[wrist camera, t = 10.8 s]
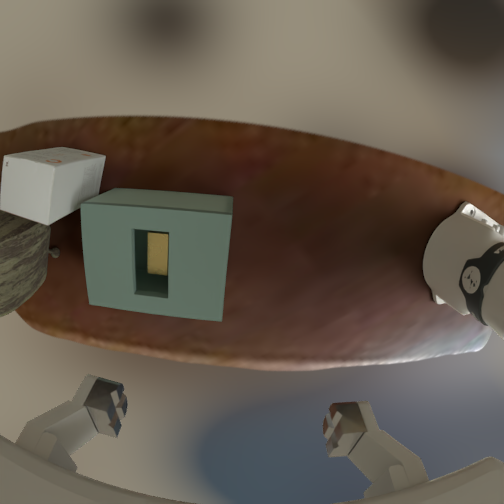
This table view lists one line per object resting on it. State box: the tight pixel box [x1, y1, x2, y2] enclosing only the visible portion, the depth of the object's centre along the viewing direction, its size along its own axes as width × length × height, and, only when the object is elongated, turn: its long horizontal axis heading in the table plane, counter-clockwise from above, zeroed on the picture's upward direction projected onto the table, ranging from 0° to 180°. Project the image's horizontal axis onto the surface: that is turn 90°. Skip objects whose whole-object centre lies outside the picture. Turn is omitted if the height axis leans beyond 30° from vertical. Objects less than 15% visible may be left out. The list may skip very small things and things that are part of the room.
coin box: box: [81, 188, 233, 321], centre depth 34 cm, size 16×12×10 cm
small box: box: [0, 147, 106, 226], centre depth 28 cm, size 8×6×13 cm
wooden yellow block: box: [148, 230, 169, 275], centre depth 35 cm, size 2×5×6 cm, turn 172°
